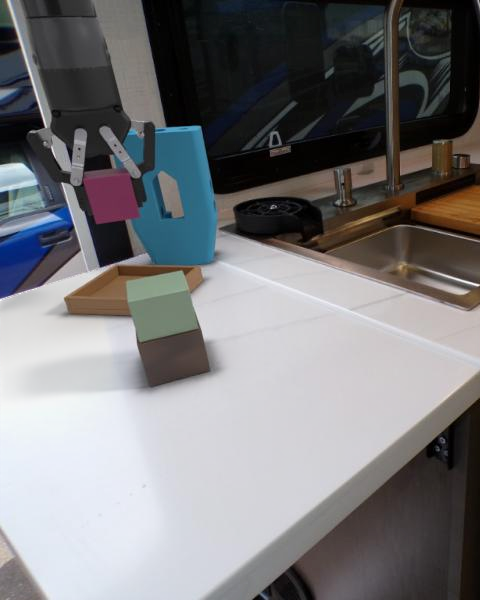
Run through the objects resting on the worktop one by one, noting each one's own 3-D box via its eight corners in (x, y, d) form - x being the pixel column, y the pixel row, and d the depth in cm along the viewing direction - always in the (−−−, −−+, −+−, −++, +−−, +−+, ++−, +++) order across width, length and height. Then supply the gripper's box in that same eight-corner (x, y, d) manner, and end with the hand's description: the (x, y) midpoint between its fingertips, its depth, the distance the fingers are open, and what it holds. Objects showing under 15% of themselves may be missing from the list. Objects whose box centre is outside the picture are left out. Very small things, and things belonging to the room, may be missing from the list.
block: (142, 270, 80) (105, 136, 71) (149, 258, 85) (115, 130, 76) (223, 261, 83) (197, 130, 74) (225, 250, 87) (201, 125, 78)
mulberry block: (96, 224, 64) (82, 179, 62) (96, 214, 68) (83, 171, 66) (140, 217, 66) (128, 174, 64) (138, 208, 70) (127, 166, 68)
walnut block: (149, 387, 53) (136, 345, 50) (145, 359, 58) (134, 319, 55) (210, 370, 55) (201, 329, 53) (202, 344, 60) (193, 306, 58)
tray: (68, 313, 68) (63, 297, 67) (120, 278, 78) (115, 264, 77) (163, 316, 66) (159, 300, 65) (203, 280, 76) (200, 265, 75)
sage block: (139, 343, 51) (127, 302, 49) (136, 319, 55) (125, 280, 53) (198, 329, 53) (189, 289, 51) (191, 307, 57) (182, 269, 55)
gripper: (141, 60, 65) (172, 194, 73) (4, 66, 59) (54, 211, 67) (145, 61, 59) (178, 207, 67) (-7, 68, 53) (49, 227, 61)
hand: (116, 209), depth 67 cm, fingers closed on mulberry block, 5 cm apart
